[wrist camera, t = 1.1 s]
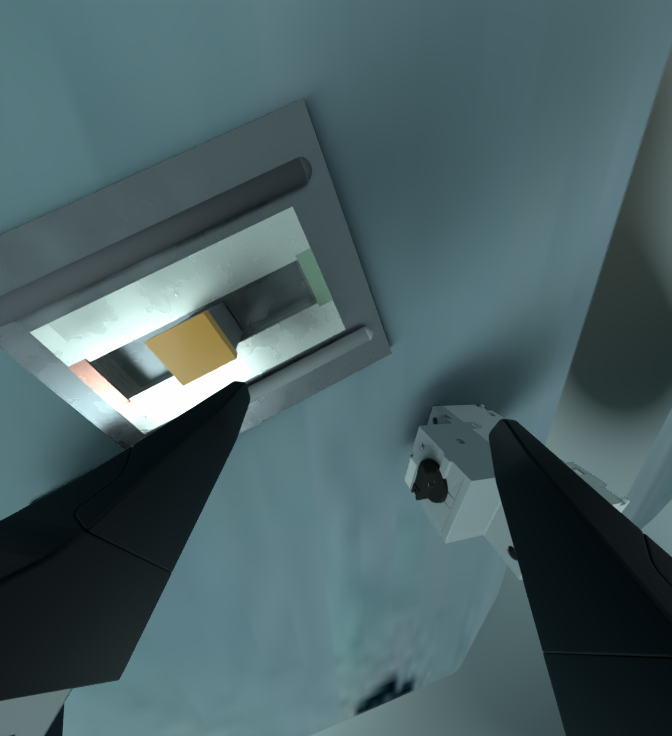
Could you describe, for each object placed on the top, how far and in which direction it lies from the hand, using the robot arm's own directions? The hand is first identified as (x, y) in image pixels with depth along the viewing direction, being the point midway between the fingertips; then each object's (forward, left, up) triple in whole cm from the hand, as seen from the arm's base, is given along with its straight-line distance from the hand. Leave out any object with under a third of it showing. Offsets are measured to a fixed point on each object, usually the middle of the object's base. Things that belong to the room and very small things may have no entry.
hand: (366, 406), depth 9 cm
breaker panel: (-7, +3, -15) cm, 17 cm away
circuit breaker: (+8, -21, -15) cm, 27 cm away
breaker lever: (-7, +3, -14) cm, 16 cm away
